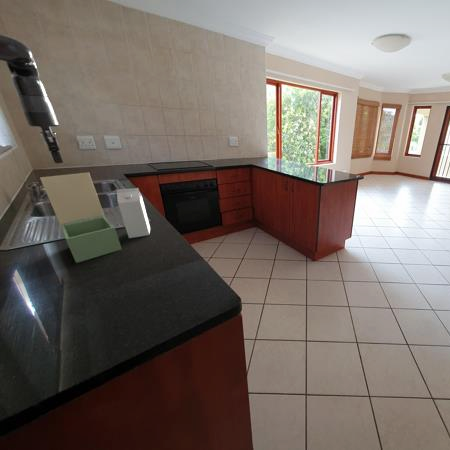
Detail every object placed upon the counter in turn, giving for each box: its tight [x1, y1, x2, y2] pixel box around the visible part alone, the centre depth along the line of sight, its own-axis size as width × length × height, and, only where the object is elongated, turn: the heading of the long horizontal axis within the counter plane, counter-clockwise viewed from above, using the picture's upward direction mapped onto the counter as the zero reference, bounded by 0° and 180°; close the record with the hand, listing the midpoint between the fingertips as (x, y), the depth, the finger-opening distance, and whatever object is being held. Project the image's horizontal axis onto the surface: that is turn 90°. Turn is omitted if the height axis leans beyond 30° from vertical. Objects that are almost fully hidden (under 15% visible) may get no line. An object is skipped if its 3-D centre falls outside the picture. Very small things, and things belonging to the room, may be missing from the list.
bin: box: [60, 215, 122, 264], centre depth 85 cm, size 16×13×9 cm
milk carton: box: [115, 187, 151, 239], centre depth 94 cm, size 7×7×19 cm
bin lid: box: [39, 172, 105, 225], centre depth 86 cm, size 16×13×5 cm
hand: (59, 162), depth 88 cm, fingers closed
